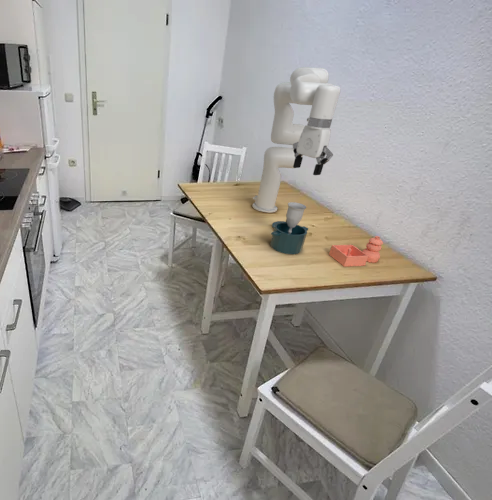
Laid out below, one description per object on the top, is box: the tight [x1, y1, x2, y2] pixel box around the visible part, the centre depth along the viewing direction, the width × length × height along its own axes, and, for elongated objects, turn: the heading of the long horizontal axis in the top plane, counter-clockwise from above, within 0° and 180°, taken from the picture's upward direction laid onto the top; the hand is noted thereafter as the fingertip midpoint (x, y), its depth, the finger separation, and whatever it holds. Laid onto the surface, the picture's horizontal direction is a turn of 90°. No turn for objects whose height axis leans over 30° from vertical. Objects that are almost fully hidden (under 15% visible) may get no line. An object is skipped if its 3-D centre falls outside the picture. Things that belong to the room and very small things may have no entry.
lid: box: [271, 219, 287, 229], centre depth 165 cm, size 13×13×6 cm
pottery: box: [328, 235, 384, 267], centre depth 141 cm, size 18×10×10 cm, turn 99°
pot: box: [269, 222, 309, 255], centre depth 148 cm, size 12×18×8 cm
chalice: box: [285, 201, 307, 234], centre depth 146 cm, size 7×7×18 cm
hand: (306, 171), depth 135 cm, fingers open, 9 cm apart
